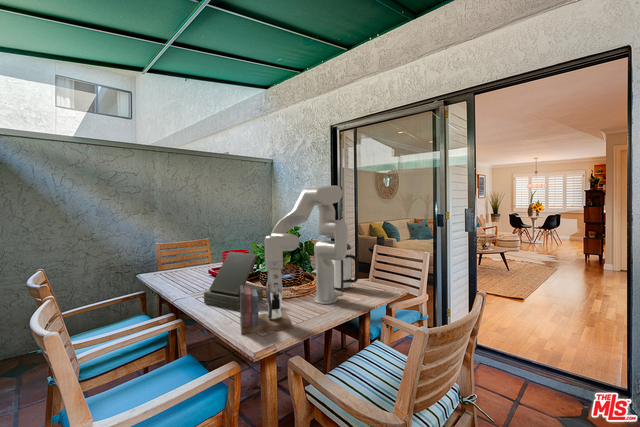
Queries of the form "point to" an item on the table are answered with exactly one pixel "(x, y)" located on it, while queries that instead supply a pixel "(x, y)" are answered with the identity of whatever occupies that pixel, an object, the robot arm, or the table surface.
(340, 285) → the coffee press
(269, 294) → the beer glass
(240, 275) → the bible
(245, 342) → the table surface
